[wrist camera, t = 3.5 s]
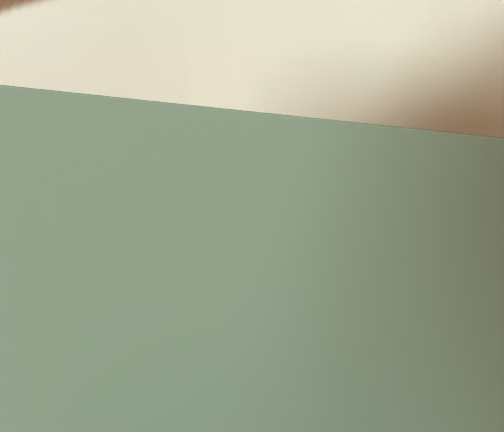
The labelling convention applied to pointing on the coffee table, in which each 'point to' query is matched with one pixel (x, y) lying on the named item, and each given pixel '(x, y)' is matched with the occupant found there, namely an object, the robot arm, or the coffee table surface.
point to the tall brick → (245, 271)
